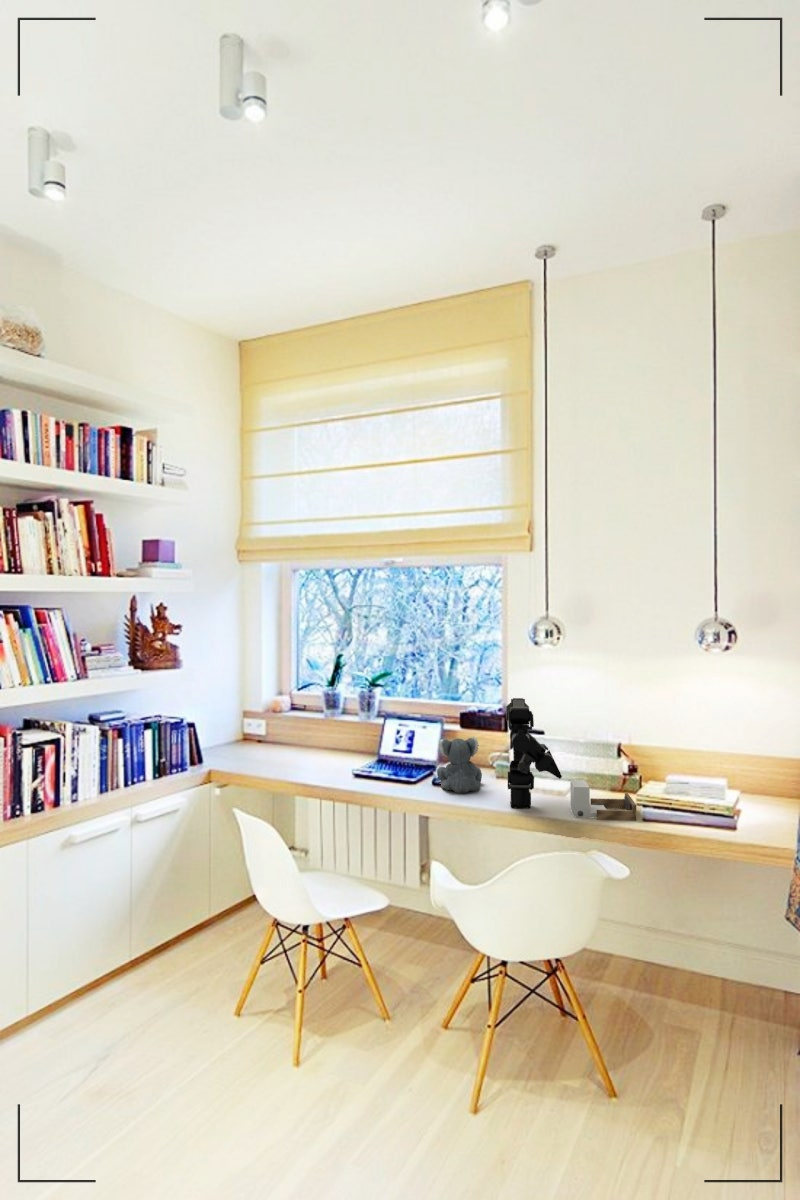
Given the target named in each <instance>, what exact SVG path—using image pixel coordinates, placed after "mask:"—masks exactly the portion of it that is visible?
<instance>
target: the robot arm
mask: <svg viewBox="0 0 800 1200" xmlns="http://www.w3.org/2000/svg"><path fill="white" fill-rule="evenodd" d="M505 709H506V710H505V721H506V722H507V725H508V726H507V727H508V731H510V733H509V738H510V740H511V742H512V753H513V755H512V757H513V760H511V761H510V763H509V771H507V790H510V801H509V805H510V808H511V807H512V809H530V808H531V805H532V793H531V791H532V790H533V789H535V775H534V773H533V771H531V765H532V764H534V768H535V770H537V771H538V772H539V773H542V772H547V773H549V774H551V775H553V776H554V777H556V778H557V779H559V780H560V779H562V777H563V775H562V774H561V772H560V769H559V767H558V765H557V763H556V761H555V758H554V757H553V755H552V753H551V751H550V750H549V747H548V746H547V745H546V744H544V743H541V742H539V741H538V740H537V739H536V738H535V736H533V735H532V734H531V733H530V732H529V731H532V730H533V728H534V727H535V726H534V725H535V724H534V721H535V720H534V713H533V711H532V710H530V706H529V705H528V704H527V703H526V699H525V698H524V697H522V698H521V697H520V698H519V697H517V698H516V697H513V698H511V699H510V703H508V704H507V705H506V707H505ZM530 790H531V791H530ZM515 807H516V808H515Z"/></svg>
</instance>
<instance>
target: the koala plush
mask: <svg viewBox="0 0 800 1200" xmlns="http://www.w3.org/2000/svg"><path fill="white" fill-rule="evenodd" d="M438 746H439V747H438V749H439V752H440V754H441V755H442V756H443V757H447V760H448V762H449V763H447V764H446V766H439V767H438V768H437V769H436V775H437V780H438V779H439V780H441V783H439V785H440V784H441V785H440V786H441V789H443V790H447V791H448V790H450V791H451V790H453V792H454V793H456V794H457V793H458V794H466V793H468V792H476V791H478V790H479V789H480V784H481V783H482V776H483V774H482V770H481V768H480V766H476V765H475V763H474V762H472V761H471V757H472V758H473V757H475V755H476V754H478V751H479V746H480V745H479V741H478V739H477V737H475V736H471V737H469V738H468V739H463V738H458V737H457V738H454V739H453V740H451V741H450V740H448V739H447V738H443V739H439V741H438ZM451 792H452V791H451Z"/></svg>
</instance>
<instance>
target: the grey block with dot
mask: <svg viewBox="0 0 800 1200" xmlns="http://www.w3.org/2000/svg"><path fill="white" fill-rule="evenodd" d="M569 782H570V783H569V784H570V785H569V786H570V810H572V811H571V813H572V812H573V813H572V815H574V816H573V817H574V818H589V817H594V818H595V819H597V810H607V808H605V807H604V805H600V804H599V803H595V805H591V804H590V786H589V784H588V783H587V780H586V779H570V781H569ZM575 816H576V817H575Z"/></svg>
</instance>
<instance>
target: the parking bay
mask: <svg viewBox="0 0 800 1200" xmlns="http://www.w3.org/2000/svg"><path fill="white" fill-rule="evenodd" d="M595 803H599V804H600V805H604V807H605V808H606V810H597V818H596V820H598V821H600V820H601V821H602V820H603V821H605V820H606V821H637V804H636V802H635V801H634V800H633V798H632V797H631V796H630V794H629V793H628V792H624V798H590V805H595Z"/></svg>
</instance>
